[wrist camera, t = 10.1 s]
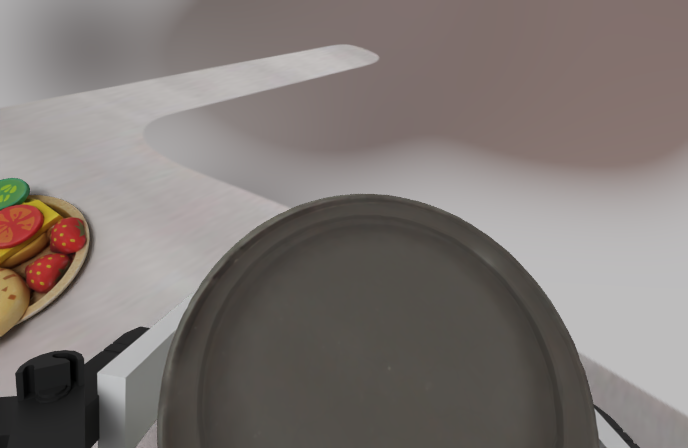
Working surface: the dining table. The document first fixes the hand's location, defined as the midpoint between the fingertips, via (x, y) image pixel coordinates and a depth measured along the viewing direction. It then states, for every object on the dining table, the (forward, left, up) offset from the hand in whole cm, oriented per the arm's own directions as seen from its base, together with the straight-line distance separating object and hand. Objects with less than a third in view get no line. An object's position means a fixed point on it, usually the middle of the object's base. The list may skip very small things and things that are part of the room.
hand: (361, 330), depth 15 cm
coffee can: (+1, +2, -7) cm, 8 cm away
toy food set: (+23, -18, -12) cm, 32 cm away
